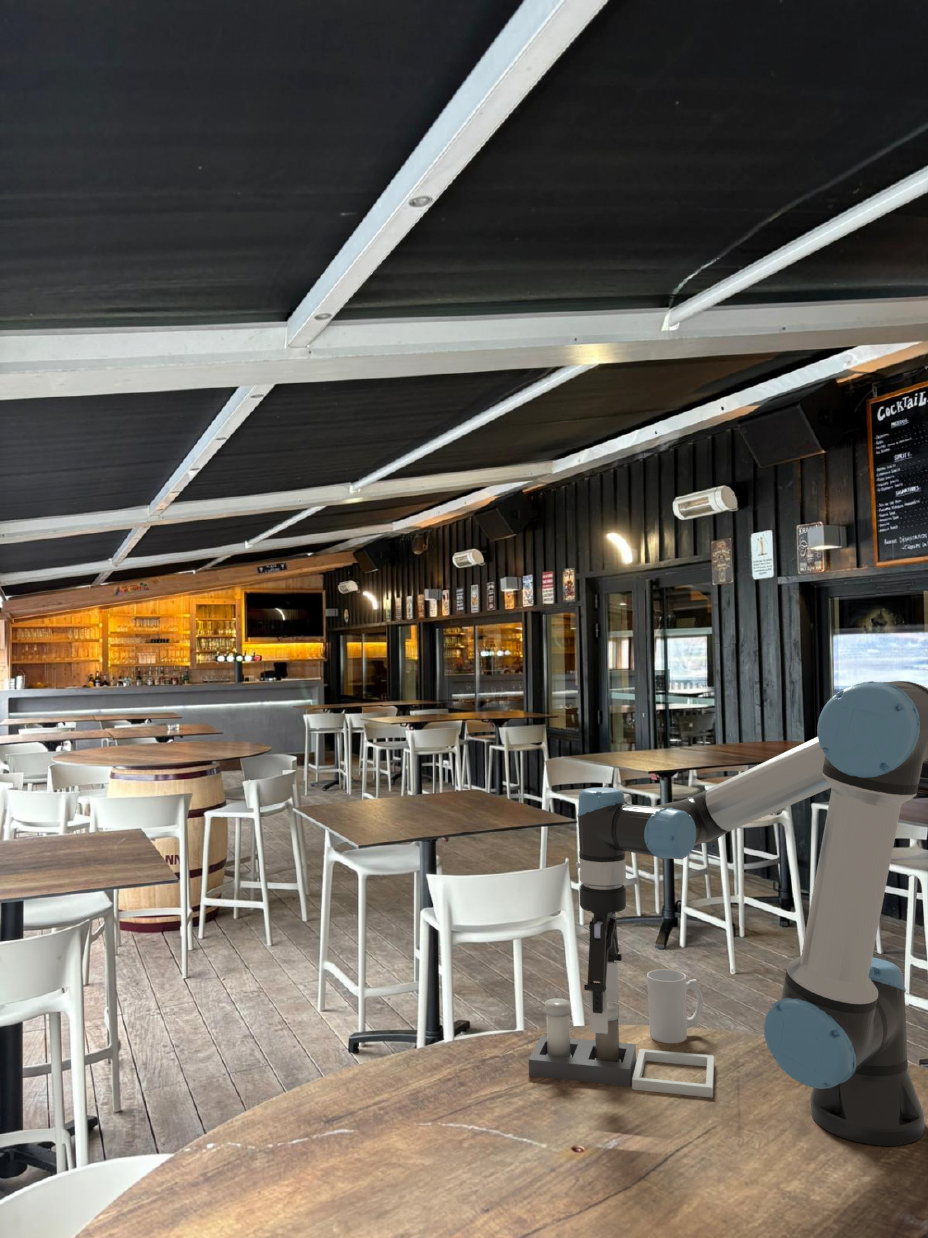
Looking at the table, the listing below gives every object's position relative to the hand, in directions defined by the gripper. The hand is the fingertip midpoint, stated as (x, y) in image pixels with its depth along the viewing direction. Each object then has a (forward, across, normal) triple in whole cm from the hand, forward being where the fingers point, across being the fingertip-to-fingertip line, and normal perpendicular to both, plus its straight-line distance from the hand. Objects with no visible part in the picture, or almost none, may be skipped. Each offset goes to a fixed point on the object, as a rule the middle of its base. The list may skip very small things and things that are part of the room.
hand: (604, 1016), depth 150 cm
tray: (+10, 0, +11) cm, 15 cm away
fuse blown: (+8, 0, 0) cm, 8 cm away
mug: (+10, -17, +10) cm, 22 cm away
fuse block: (+10, 0, -4) cm, 11 cm away
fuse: (+8, 0, -8) cm, 11 cm away
